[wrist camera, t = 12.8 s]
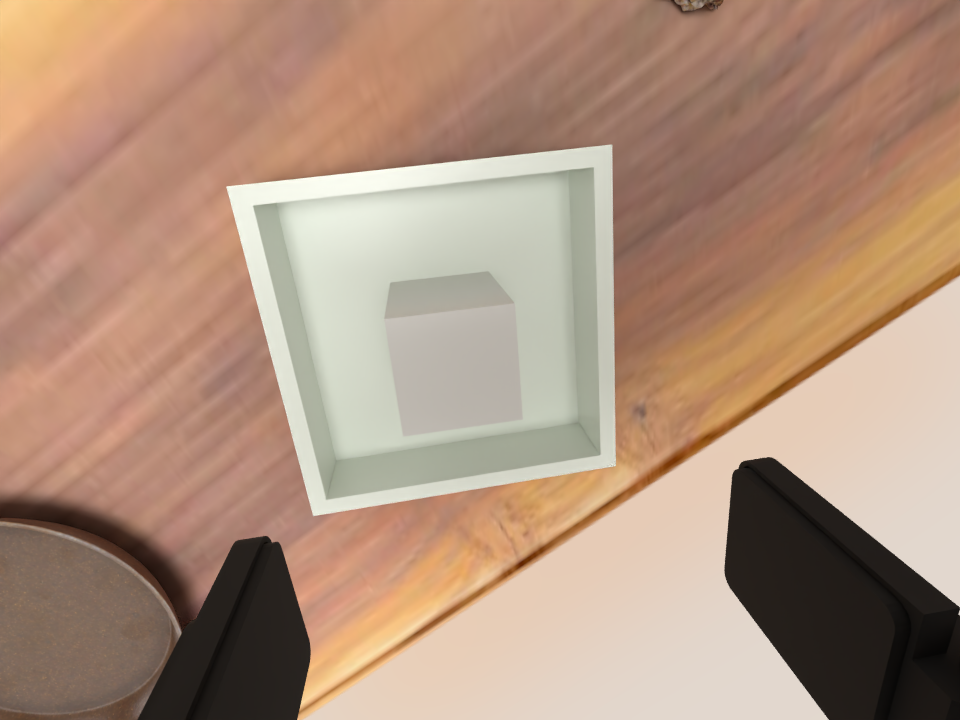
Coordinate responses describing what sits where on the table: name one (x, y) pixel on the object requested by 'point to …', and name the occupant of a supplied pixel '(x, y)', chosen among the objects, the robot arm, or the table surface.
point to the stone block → (453, 352)
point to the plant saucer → (77, 625)
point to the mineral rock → (698, 4)
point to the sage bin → (427, 254)
